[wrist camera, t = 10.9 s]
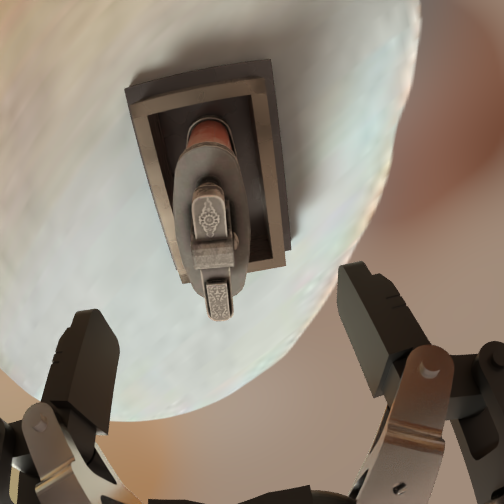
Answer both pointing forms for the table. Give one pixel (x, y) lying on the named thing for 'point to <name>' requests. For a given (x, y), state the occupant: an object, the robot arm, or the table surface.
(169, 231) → the rectangular tray
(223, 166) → the lighter
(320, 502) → the robot arm
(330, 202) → the table surface
